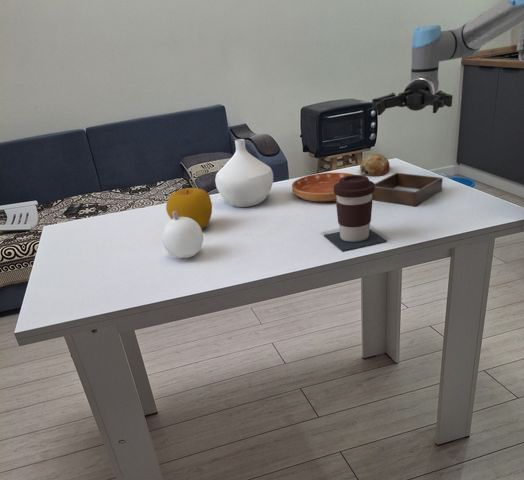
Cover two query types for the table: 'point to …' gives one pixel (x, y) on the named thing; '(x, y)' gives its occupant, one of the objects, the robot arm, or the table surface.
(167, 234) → the ornament
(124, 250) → the table surface
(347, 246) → the mat
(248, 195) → the vase
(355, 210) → the coffee cup
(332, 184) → the saucer
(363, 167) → the bread roll
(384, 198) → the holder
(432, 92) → the robot arm
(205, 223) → the apple
